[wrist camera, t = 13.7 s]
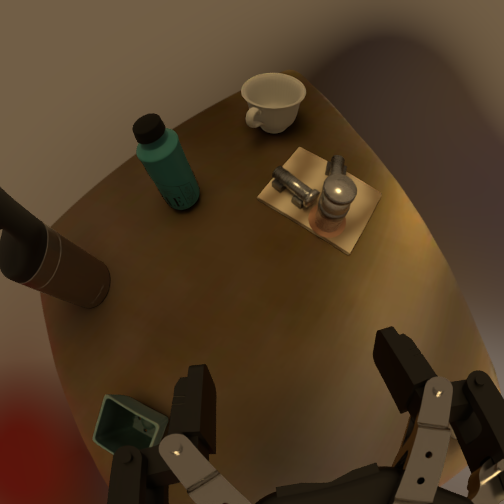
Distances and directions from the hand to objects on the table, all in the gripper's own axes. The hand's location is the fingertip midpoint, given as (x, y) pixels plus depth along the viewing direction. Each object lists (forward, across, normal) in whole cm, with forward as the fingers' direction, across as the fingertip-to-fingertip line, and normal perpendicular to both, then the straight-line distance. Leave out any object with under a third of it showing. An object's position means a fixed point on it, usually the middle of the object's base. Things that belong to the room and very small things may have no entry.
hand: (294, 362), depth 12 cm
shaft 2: (+38, -15, +1) cm, 41 cm away
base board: (+37, -13, +3) cm, 40 cm away
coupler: (+33, -12, +6) cm, 36 cm away
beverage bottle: (+40, +11, 0) cm, 42 cm away
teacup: (+50, -7, -10) cm, 52 cm away
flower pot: (+14, +22, +27) cm, 37 cm away
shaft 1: (+37, -8, +2) cm, 38 cm away
